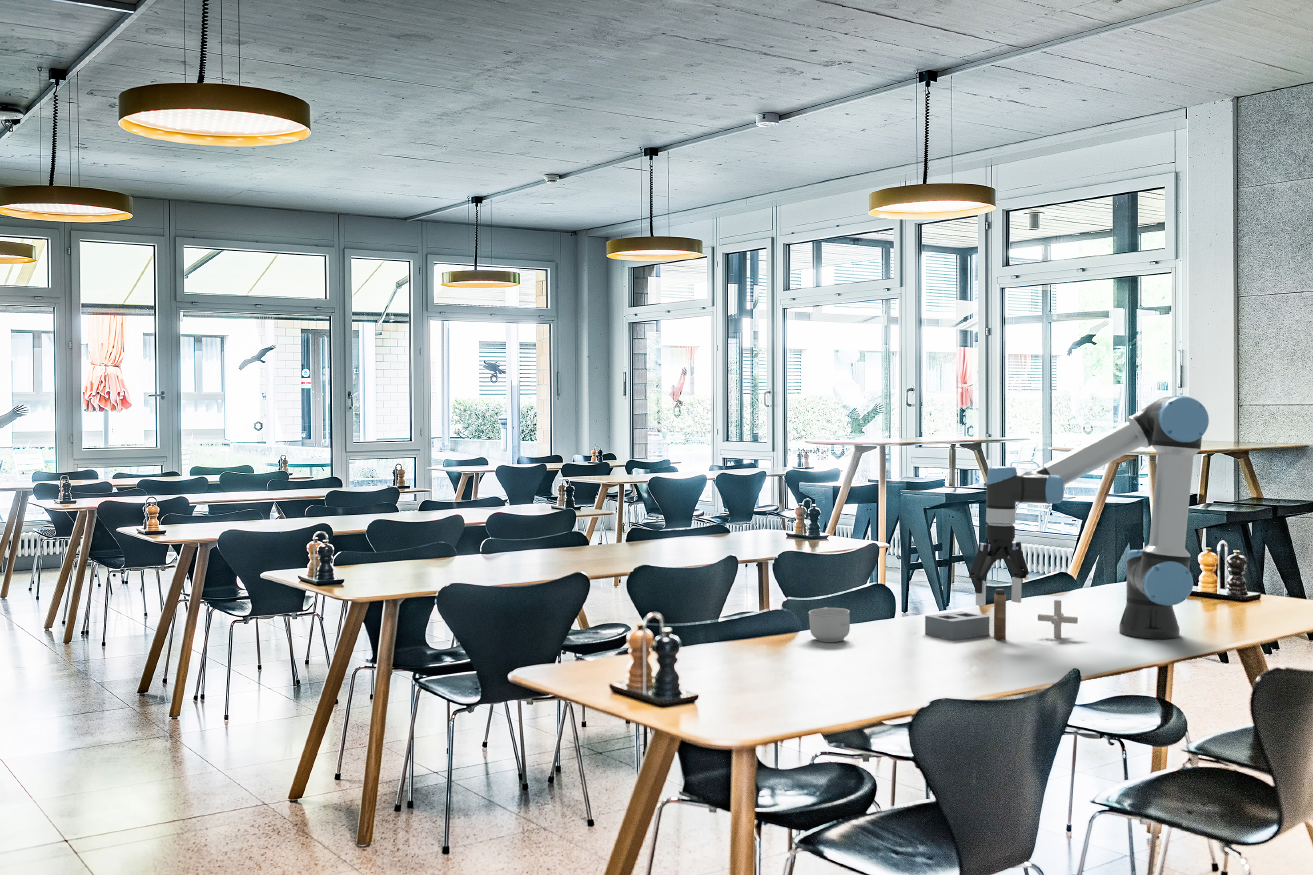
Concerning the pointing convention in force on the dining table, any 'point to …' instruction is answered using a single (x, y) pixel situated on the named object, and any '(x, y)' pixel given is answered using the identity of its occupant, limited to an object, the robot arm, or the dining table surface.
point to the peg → (1000, 614)
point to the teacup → (829, 624)
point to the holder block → (957, 625)
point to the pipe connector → (1057, 618)
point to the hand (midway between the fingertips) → (998, 603)
